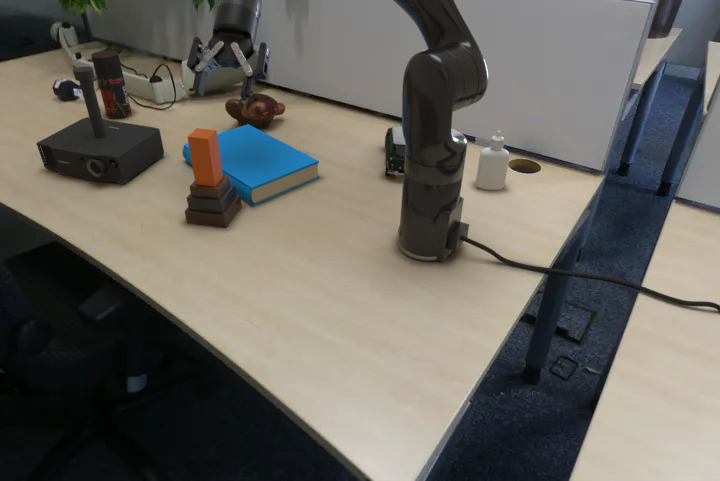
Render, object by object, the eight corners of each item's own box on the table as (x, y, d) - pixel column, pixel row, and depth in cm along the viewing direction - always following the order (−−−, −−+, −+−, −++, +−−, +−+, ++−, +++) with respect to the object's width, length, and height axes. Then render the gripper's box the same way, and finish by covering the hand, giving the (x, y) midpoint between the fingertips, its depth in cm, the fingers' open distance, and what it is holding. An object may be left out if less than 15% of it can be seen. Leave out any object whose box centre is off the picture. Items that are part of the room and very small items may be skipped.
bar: (223, 177, 98) (216, 130, 92) (215, 186, 95) (207, 138, 89) (204, 175, 98) (196, 128, 93) (195, 184, 95) (187, 136, 90)
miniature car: (423, 145, 126) (426, 112, 122) (429, 183, 112) (433, 147, 107) (384, 144, 126) (385, 111, 122) (385, 182, 112) (387, 146, 107)
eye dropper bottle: (481, 178, 114) (490, 124, 107) (506, 186, 111) (517, 131, 104) (472, 186, 111) (480, 131, 104) (498, 194, 108) (508, 138, 101)
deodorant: (107, 111, 139) (92, 51, 131) (132, 109, 141) (118, 49, 132) (106, 120, 135) (90, 58, 126) (131, 117, 136) (117, 56, 128)
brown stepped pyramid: (241, 206, 103) (237, 173, 99) (226, 227, 97) (221, 193, 93) (204, 201, 104) (198, 168, 100) (186, 222, 98) (180, 188, 94)
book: (247, 123, 125) (319, 158, 110) (249, 141, 127) (320, 177, 113) (179, 145, 115) (249, 187, 100) (183, 164, 117) (252, 207, 103)
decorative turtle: (219, 126, 133) (215, 94, 129) (272, 116, 141) (271, 85, 137) (239, 138, 126) (236, 104, 122) (293, 126, 135) (292, 94, 131)
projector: (37, 175, 111) (2, 78, 100) (93, 142, 124) (68, 53, 113) (117, 190, 107) (91, 91, 95) (167, 155, 120) (148, 63, 108)
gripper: (193, -2, 97) (174, 83, 94) (270, 3, 95) (253, 90, 92) (209, 23, 104) (192, 102, 101) (281, 28, 102) (266, 109, 99)
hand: (221, 96), depth 97 cm, fingers open, 8 cm apart
